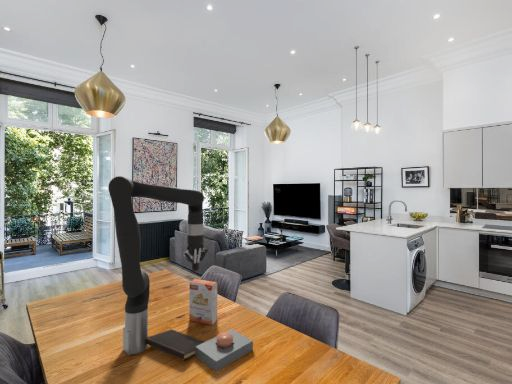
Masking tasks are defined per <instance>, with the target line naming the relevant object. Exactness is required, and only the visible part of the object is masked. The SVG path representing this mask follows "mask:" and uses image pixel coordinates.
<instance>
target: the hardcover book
mask: <svg viewBox="0 0 512 384" xmlns="http://www.w3.org/2000/svg"><path fill="white" fill-rule="evenodd" d="M204 342H205V341H204V340H201V339H199V338H196V337H193V336H191V335H188V334H185V333H182V332H180V331H176V330H174V329H169V330H166V331H163V332H159V333H157V334H153V335H150V336H148V338H147V339H146V344H148V346H151V347H152V348H155V349H157V350H159V351H162V352H164V353H167V354H169V355H171V356H173V357H176V358H179V359H180V360H183V361H185V360H189V359H190V358H192V357H194V356H195V355H196V354H195V352H196V346H198V345H200V344H202V343H204Z"/></svg>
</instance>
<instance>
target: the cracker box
mask: <svg viewBox="0 0 512 384" xmlns="http://www.w3.org/2000/svg"><path fill="white" fill-rule="evenodd" d="M188 303H189V304H188V305H189V307H188V308H189V310H188V312H189V315H188V317H189V318H188V319H189V321H191V322H197V323H200V324H204V325H208V326H213V325H214V324H215V323H216V322H217V321H218V282H217V281H212V280H205V279H198V278H194V279H193V280H190V281H189V302H188Z"/></svg>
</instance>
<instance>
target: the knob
mask: <svg viewBox="0 0 512 384" xmlns="http://www.w3.org/2000/svg"><path fill="white" fill-rule="evenodd" d="M216 337H217V345H218V346H220V347H221V348H222V349H226V348H228V347H229V346H231V345H232V344H233V335H232V334H231V333H228V332H227V331H224V332H223V331H222V332H220V333H218V334H217V335H216Z"/></svg>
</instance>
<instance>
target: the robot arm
mask: <svg viewBox="0 0 512 384" xmlns="http://www.w3.org/2000/svg"><path fill="white" fill-rule="evenodd" d="M108 193H109V196H110V199H111V204H112V206H113V207H112V208H113V213H114V225H115V233H116V241H117V246H118V247H117V248H118V253H119V260H120V264H121V280H122V281H121V282H122V291H123V293H124V294H125V295H126V296H127V297H126V301H125V304H124V327H123V328H122V350H123V352H125V353H126V355H127V356H130V355H136V354H140V353H143V352H144V351H146V350H147V349H148V346H149V345H148V344H146V339H147V338H148V337H149V323H148V322H149V301H150V287H151V286H150V285H151V284H150V276H149V275H148V274H147V272H146V271H144V270H141V269H142V268H141V263H140V262H141V261H140V260H141V249H142V236H141V231H140V225H139V222H138V219H137V216H136V214H135V211H134V206H133V198H146V199H151V200H156V201H160V202H166V203H174V204H184V205H187V209H188V212H187V213H188V215H187V229H186V230H187V231H186V233H187V234H186V236H187V237H186V239H187V240H186V244H187V247H186V250H185V251H184V252H182V256H183V257H184V258H185V259H186V261H187V262H188V263H191V270H192V271H193V272H198V271H199V269H200V267H199V265H200V262H201V261H203V260H204V258H205V256H206V255H207V253H208V251H209V249H208V248H205V245H204V242H205V241H204V240H205V238H204V237H205V234H204V232H205V231H204V230H205V228H204V212H203V208H204V207H203V205H204V204H203V203H204V201H205V197H204V194H203V192H201V191H200V190H195V189H186V188H185V189H184V188H181V187H177V186H169V185H160V184H159V185H158V184H148V183H143V182H139V181H135V180H132V179H130V178H129V177H125V176H121V175H120V176H115V177H113V178H111V179H110V181H109V183H108Z"/></svg>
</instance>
